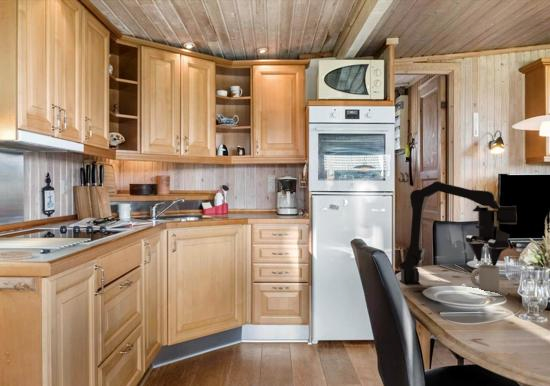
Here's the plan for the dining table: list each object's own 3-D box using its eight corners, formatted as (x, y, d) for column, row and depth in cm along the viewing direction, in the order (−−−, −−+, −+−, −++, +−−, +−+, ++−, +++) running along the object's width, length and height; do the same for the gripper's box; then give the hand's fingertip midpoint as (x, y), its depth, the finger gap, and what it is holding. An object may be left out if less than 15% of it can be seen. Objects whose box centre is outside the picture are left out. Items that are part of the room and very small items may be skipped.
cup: (501, 292, 156) (501, 268, 156) (473, 291, 159) (472, 268, 158) (496, 287, 163) (496, 264, 163) (469, 286, 166) (468, 264, 165)
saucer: (479, 298, 152) (479, 295, 152) (457, 288, 167) (457, 285, 167) (517, 297, 154) (517, 294, 154) (491, 287, 169) (491, 284, 169)
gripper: (522, 224, 152) (522, 267, 152) (490, 220, 170) (490, 258, 170) (494, 225, 150) (494, 268, 151) (465, 221, 169) (465, 259, 169)
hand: (486, 263), depth 160 cm, fingers open, 9 cm apart
